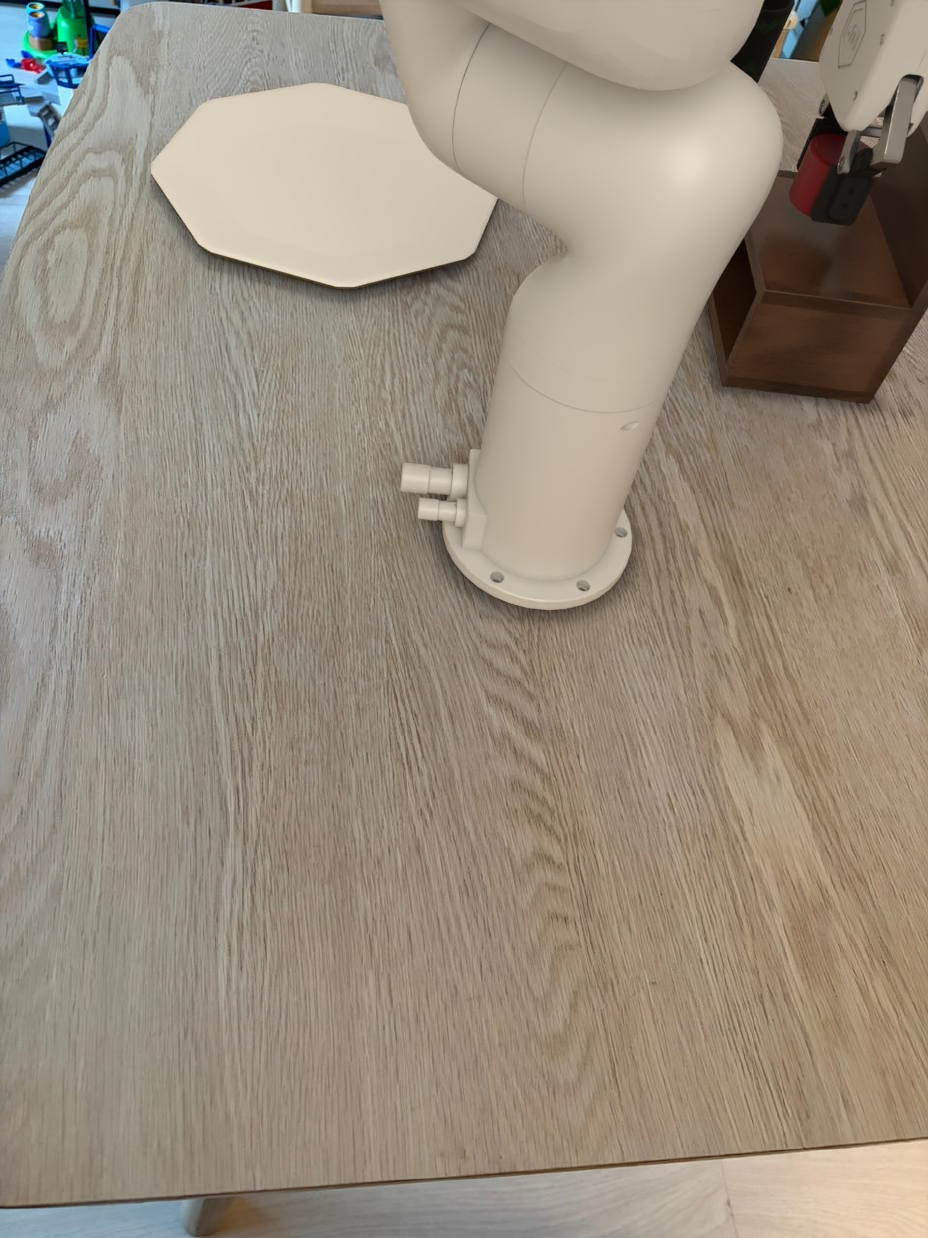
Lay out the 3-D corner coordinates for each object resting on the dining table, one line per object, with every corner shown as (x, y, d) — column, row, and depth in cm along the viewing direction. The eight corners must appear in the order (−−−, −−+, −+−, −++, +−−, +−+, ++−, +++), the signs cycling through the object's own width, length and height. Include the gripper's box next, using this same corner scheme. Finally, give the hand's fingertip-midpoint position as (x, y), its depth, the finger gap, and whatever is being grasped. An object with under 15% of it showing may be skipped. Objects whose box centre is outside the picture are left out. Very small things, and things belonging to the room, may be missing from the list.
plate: (521, 150, 95) (524, 134, 94) (444, 331, 79) (447, 315, 78) (238, 73, 96) (237, 57, 95) (105, 237, 80) (102, 220, 79)
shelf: (722, 386, 80) (804, 200, 67) (699, 259, 89) (767, 74, 76) (869, 403, 81) (979, 224, 68) (831, 277, 90) (922, 97, 77)
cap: (794, 218, 74) (817, 167, 71) (783, 177, 77) (804, 126, 74) (864, 227, 74) (889, 177, 71) (850, 186, 77) (874, 135, 74)
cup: (662, 98, 104) (699, -30, 94) (728, 96, 106) (771, -30, 96) (693, 141, 100) (735, 11, 90) (761, 137, 102) (810, 11, 92)
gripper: (859, -149, 65) (756, 126, 80) (922, -24, 55) (792, 263, 70) (972, -130, 66) (849, 139, 80) (1054, -4, 56) (897, 276, 71)
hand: (823, 194), depth 75 cm, fingers closed on cap, 5 cm apart
